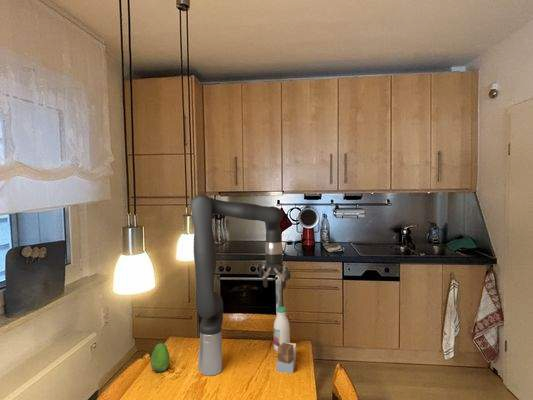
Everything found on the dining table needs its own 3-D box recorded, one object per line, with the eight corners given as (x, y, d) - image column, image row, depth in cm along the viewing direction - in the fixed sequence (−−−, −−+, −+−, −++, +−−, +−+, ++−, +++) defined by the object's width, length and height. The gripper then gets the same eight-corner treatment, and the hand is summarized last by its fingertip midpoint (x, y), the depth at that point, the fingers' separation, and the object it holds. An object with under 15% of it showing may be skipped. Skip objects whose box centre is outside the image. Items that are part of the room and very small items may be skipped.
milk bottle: (289, 344, 172) (288, 304, 171) (290, 352, 164) (290, 310, 163) (273, 345, 171) (272, 305, 171) (274, 352, 164) (273, 311, 163)
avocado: (168, 374, 146) (167, 346, 146) (149, 376, 145) (148, 348, 145) (171, 364, 154) (170, 338, 154) (153, 366, 153) (152, 339, 153)
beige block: (283, 360, 156) (283, 347, 156) (285, 355, 161) (285, 342, 161) (295, 361, 155) (294, 348, 155) (296, 356, 160) (295, 343, 160)
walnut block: (277, 360, 149) (277, 347, 149) (283, 355, 153) (283, 342, 153) (288, 363, 146) (288, 349, 146) (293, 358, 151) (293, 345, 150)
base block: (276, 372, 147) (276, 363, 147) (279, 363, 154) (279, 355, 154) (293, 373, 146) (293, 364, 146) (294, 365, 153) (294, 356, 153)
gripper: (255, 252, 154) (256, 288, 154) (285, 254, 147) (286, 292, 148) (263, 249, 160) (263, 284, 161) (292, 251, 154) (292, 287, 155)
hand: (274, 288), depth 155 cm, fingers open, 8 cm apart
